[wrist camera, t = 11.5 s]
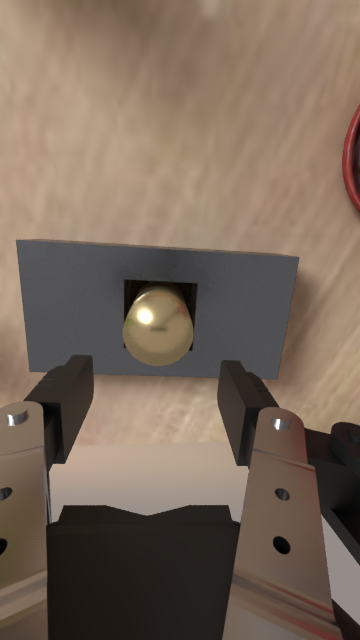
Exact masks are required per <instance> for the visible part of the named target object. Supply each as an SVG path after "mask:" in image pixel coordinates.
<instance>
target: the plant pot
mask: <svg viewBox="0 0 360 640" xmlns="http://www.w3.org/2000/svg"><path fill="white" fill-rule="evenodd" d="M342 167H343V177H344V182H345V186H346V189H347V192H348V194H349V197H350V198H351V200H352V202H353V204H354V205H355V207H356V208H357V209H358V210H359V211H360V105H359V107H358V109H357V111H356V113H355V115H354V117H353V119H352V121H351V124H350V126H349V129H348V132H347V135H346V138H345V142H344V149H343V158H342Z"/></svg>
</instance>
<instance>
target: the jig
mask: <svg viewBox="0 0 360 640" xmlns="http://www.w3.org/2000/svg"><path fill="white" fill-rule="evenodd" d="M16 245H17V254H18V264H19V273H20V283H21V292H22V302H23V311H24V321H25V330H26V340H27V350H28V359H29V369H30V372H48V371H50V370H52V369H54V368H55V367H57V366H64V365H65V364H66V363H67V362H68V360H69V359H70V358H71V356H72V355H91V356H92V358H93V374H116V375H149V376H182V377H215V378H219V376H220V367H221V362H222V360H234V361H240V362H241V364H242V365H243V367H244V369H245V371H246V372H252V373H254V374H255V375H257V376H258V377H259V378H260V379H277V377H278V372H279V366H280V361H281V355H282V350H283V344H284V339H285V334H286V328H287V323H288V317H289V312H290V306H291V301H292V295H293V290H294V284H295V279H296V273H297V268H298V262H299V257H294V256H288V255H282V254H272V253H256V252H240V251H224V250H208V249H192V248H176V247H160V246H144V245H128V244H112V243H96V242H79V241H63V240H47V239H26V240H16ZM130 280H147V281H166V282H185V283H192V292H191V305H190V318H191V321H192V325H193V331H194V335H193V341H192V344H191V346H190V348H189V350H188V352H187V353H186V354H185V355H184V356H183V357H182V358H181V359H179V360H178V361H176V362H174V363H172V364H169V365H165V366H152V365H147V364H145V363H142V362H140V361H139V360H137V359H136V358H134V357H133V356H132V355H131V354H130V352H129V351H128V350H127V348H126V346H125V343H124V340H123V325H124V322H125V319H126V317H127V315H128V313H129V311H130Z"/></svg>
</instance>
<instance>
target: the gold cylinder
mask: <svg viewBox="0 0 360 640" xmlns="http://www.w3.org/2000/svg"><path fill="white" fill-rule="evenodd" d="M193 335H194V331H193V325H192V321H191V318H190V315H189V312H188V309H187V305H186V302H185V299H184V296H183V294H182V292H181V290H180V289H179V287H178V286H177V285H175V284H174V283H172V282H166V281H150V282H148V283H146V284H145V285H144V286H142V288H141V289H140V290H139V292H138V294H137V296H136V298H135V300H134V302H133V304H132V307H131V309H130V311H129V313H128V315H127V317H126V319H125V322H124V325H123V340H124V343H125V346H126V348H127V350H128V351H129V352H130V354H131V355H132V356H133V357H134V358H136V359H137V360H139V361H140V362H142V363H145V364H147V365H152V366H165V365H169V364H172V363H174V362H176V361H178V360H179V359H181V358H182V357H183V356H184V355H185V354H186V353H187V352H188V350H189V348H190V346H191V344H192V341H193Z"/></svg>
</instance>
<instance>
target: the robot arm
mask: <svg viewBox="0 0 360 640" xmlns="http://www.w3.org/2000/svg"><path fill="white" fill-rule="evenodd" d="M93 393H94V382H93V358H92V356H91V355H72V356H71V358H70V359H69V360H68V362H67V363H66V364H65V365H64V366H57V367H55V368H54V369H52V370H50V371H48V373H47V374H46V375H45V376H44V377H43V380H41V381H40V382H39V383H38V385H36V387H35V388H34V389H33V390H32V391H31V392H30V394H29V395H28V396H27V397H26V398H25V399H24V401H22V402H16V403H12V404H9V405H7V406H4V407H2V408H1V409H0V640H360V625H359V624H357V622H355V621H354V620H353V619H352V618H351V617H350V616H349V615H348V614H347V613H346V612H345V611H344V610H343V609H342V608H341V607H340V606H339V605H338V604H337V603H336V602H335V601H334V600H333V599H332V598H331V590H330V584H329V583H330V582H329V575H328V567H327V559H326V551H325V543H324V535H323V528H322V520H321V514H322V516H323V517H324V518H325V520H326V521H327V522H328V524H329V525H330V526H331V528H332V529H333V530H334V532H335V533H336V534H337V536H338V537H339V538H340V540H341V541H342V542H343V543H344V545H345V547H346V548H347V549H348V551H349V552H350V553H351V555H352V556H353V557H354V559H355V560H356V561H357V563H358V564H359V565H360V426H359V425H356V424H353V423H347V422H339V423H336V424H334V425H333V426H332V429H331V433H330V434H327V433H323V432H318V431H314V430H310V429H307V428H304V424H303V422H302V420H301V419H300V418H299V417H298V416H297V415H295V414H294V413H292V412H290V411H288V410H286V409H282V408H280V407H279V406H278V404H277V403H276V401H275V400H274V398H273V397H272V395H271V394H270V392H269V391H268V389H267V388H266V386H265V385H264V383H263V382H262V380H261V379H260V378H259V377H258V376H257V375H255V374H254V373H252V372H246V371H245V369H244V367H243V365H242V364H241V362H240V361H234V360H222V362H221V367H220V376H219V384H218V394H217V399H218V407H219V410H220V413H221V416H222V420H223V423H224V426H225V429H226V432H227V436H228V439H229V442H230V445H231V448H232V451H233V455H234V458H235V461H236V464H237V466H248V469H249V474H248V480H247V487H246V492H245V499H244V505H243V511H242V517H241V523H239V522H236V521H233V520H232V518H231V514H230V510H229V506H228V505H188V506H185V507H181V508H177V509H173V510H169V511H166V512H161V513H157V514H154V515H149V516H145V515H140V514H137V513H132V512H129V511H125V510H121V509H117V508H114V507H110V506H106V505H96V506H95V505H89V506H88V505H85V506H84V505H81V506H80V505H68V506H67V505H64V506H63V509H62V512H61V514H60V517H59V520H58V521H57V522H53V523H52V516H51V497H50V479H49V471H50V469H51V467H52V465H53V464H65V462H66V460H67V458H68V455H69V453H70V451H71V449H72V446H73V444H74V442H75V440H76V437H77V435H78V433H79V430H80V428H81V426H82V424H83V421H84V419H85V417H86V414H87V412H88V410H89V408H90V405H91V403H92V399H93Z"/></svg>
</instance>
